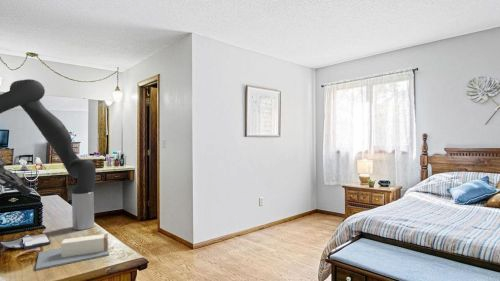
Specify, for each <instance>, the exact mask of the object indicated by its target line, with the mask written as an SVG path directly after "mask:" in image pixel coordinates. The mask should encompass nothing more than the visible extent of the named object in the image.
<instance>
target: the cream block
mask: <svg viewBox="0 0 500 281" xmlns="http://www.w3.org/2000/svg"><path fill="white" fill-rule="evenodd" d="M60 248H61V257H67V256H74V255H81V254H88V253H95V252H101V251H108V252H109V233H103V234H102V233H101V234H93V235H86V236H79V237H71V238H70V237H69V238H64V239H63V240H62V242H61V243H60Z"/></svg>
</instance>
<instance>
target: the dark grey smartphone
mask: <svg viewBox="0 0 500 281" xmlns="http://www.w3.org/2000/svg"><path fill="white" fill-rule="evenodd" d="M29 236H30V237H31V238H33V240H32V241H31V242H24V246H23V249H24V250H32V249H36V248H40V247H45V246H50V245H51V240H50V238H49V237H48V235H47V234H46V233H40V234H35V235H29ZM24 237H25V236H24ZM24 237H22V238H24Z"/></svg>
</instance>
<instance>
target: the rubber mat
mask: <svg viewBox="0 0 500 281" xmlns="http://www.w3.org/2000/svg"><path fill="white" fill-rule="evenodd" d="M109 255H110V253H109V250H108V251H101V252H95V253H88V254H81V255H74V256H67V257H61V247H60V248H54V249H47V250H43V251H39V252H38V256H37V261H36V265H35V271H39V270H44V269H49V268H54V267H58V266H64V265H68V264H73V263H74V264H75V263H78V262H84V261H88V260H93V259H97V258H103V257H107V256H109Z"/></svg>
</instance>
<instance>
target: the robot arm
mask: <svg viewBox="0 0 500 281" xmlns="http://www.w3.org/2000/svg"><path fill="white" fill-rule="evenodd" d="M45 91H46V90H45V87H44V85H43V83H41V82H40V81H38V80H35V79H31V78H30V79H29V78H27V79H20V80H19V79H18V80H16V81H13V82H11V84H10V85H9V90H8V91H6V92H3V93H0V114H3V113H4V112H7V111H10V110H12V109H14V108H17V107H21V109H23V111H24V112H25V113H26V114H27V115H28V117H29V118H30V119H31V120H32V122H33V123H34V125H35V126H36V128H37V129H38V130H39V132H40V133H41V135H42V136H43V139H45V140H46V141H47V143H48V144H49V145H50V147H51V148H52V150H53V151H54V152H55V154H56V155H57V156H58V158H59V159H60V161H61V162H62V165H63V166H64V168H65V170H66V172H67V173H68V175H70V177H72V178H75V179H77V182H76V185H75V186H73V187H72V188H71V214H72V218H71V219H72V224H71V226H72V230H75V231H82V230H84V231H85V230H88V229H91V228H93V227H94V226H95V207H94V206H95V204H94V203H95V202H94V201H95V196H94V188H95V186H96V176H97V175H96V164H95V163H94V161H92V160H90V159H81V158H80V157H79V156H78V154H77V153H76V152H75V151H74V148H73V144H72V143H73V142H72V141H73V140H72V136H71V133H70V132H69V130H68V129H67V127H66V126H65V124H64V123H63V121H61V120H60V119H59V118H58V117H56V116H55V114H53V113H52V112H50V111H49V110H48V109H47V108H46V107H45V106H44V105H43V103H42V101H41V99H42V98H43V97H44V95H45V93H46V92H45ZM6 165H7V162H6V161H5V160H3V159H2V158H1V157H0V186H2V187H4V188H6V189H9V190H14V191H18V192H19V193H21V194H22V195H23V196H25V197H27V196H29V195H30V194H31V193H32V189H30V188H29V187H27V186H26V185H25V184H24V181H23V179H22V178H21V177H20V176H19V175H18V173H16V172H13V171H11V169H10V170H9V169H6V168H5V166H6Z"/></svg>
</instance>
